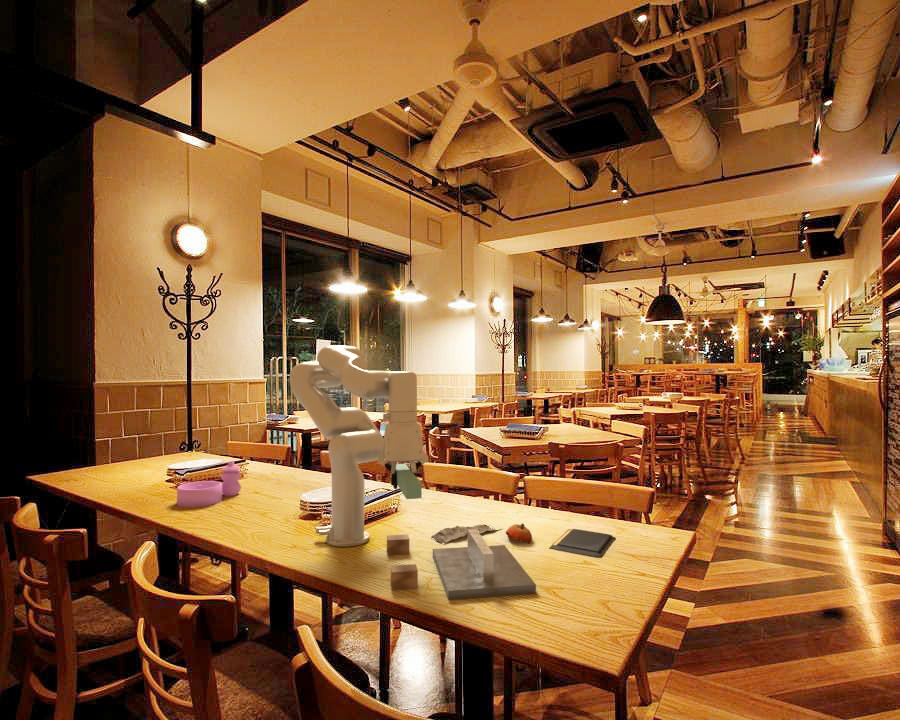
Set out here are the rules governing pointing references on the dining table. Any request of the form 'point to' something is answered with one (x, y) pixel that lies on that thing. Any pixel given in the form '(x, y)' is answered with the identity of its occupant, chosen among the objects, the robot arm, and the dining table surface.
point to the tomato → (519, 533)
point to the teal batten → (408, 482)
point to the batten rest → (401, 573)
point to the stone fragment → (458, 532)
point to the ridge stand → (481, 570)
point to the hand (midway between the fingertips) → (402, 486)
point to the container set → (210, 489)
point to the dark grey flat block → (584, 543)
